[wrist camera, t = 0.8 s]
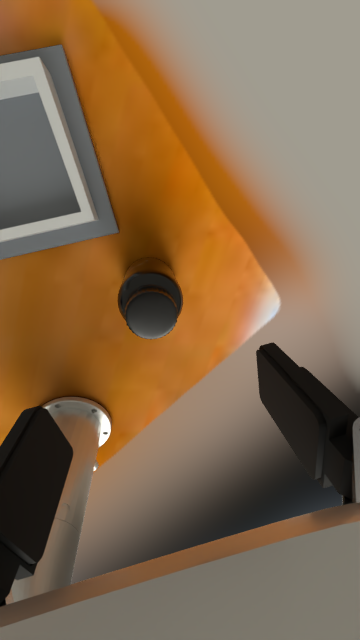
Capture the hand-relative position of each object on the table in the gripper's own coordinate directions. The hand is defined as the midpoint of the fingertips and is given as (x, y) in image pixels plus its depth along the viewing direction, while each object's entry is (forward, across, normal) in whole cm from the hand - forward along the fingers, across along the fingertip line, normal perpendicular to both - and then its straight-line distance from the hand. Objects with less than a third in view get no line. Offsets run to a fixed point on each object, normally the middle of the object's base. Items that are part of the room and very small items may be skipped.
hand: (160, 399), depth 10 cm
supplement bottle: (+23, 0, 0) cm, 23 cm away
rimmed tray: (+23, +10, -15) cm, 29 cm away
